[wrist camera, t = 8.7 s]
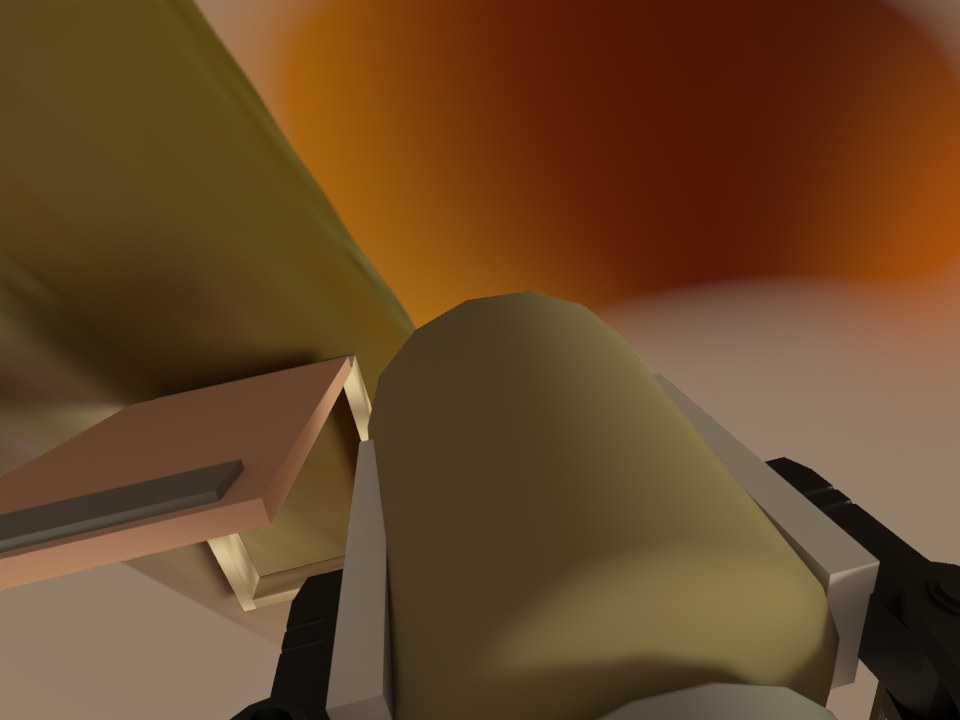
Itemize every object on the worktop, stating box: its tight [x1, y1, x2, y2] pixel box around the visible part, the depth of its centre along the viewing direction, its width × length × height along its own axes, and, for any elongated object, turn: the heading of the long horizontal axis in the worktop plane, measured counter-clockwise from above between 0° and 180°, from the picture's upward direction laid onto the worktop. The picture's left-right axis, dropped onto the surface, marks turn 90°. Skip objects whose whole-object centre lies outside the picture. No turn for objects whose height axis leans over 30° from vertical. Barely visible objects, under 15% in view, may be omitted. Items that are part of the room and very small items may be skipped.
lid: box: [0, 357, 352, 590], centre depth 25 cm, size 20×15×1 cm
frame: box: [154, 354, 372, 611], centre depth 41 cm, size 20×15×2 cm
